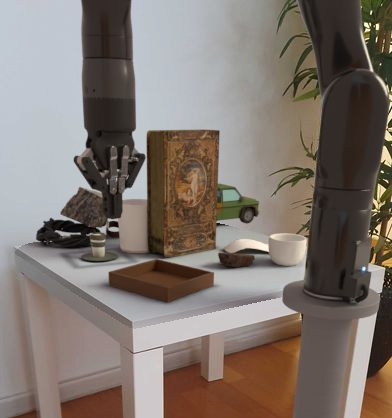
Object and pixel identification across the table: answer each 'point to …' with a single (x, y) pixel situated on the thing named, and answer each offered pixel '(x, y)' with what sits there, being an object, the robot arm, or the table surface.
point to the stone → (236, 259)
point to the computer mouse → (245, 245)
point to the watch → (111, 233)
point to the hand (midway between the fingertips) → (113, 217)
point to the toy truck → (235, 205)
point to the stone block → (86, 208)
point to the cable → (68, 226)
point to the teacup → (286, 248)
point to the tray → (161, 279)
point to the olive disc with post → (98, 249)
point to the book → (182, 190)
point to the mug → (134, 226)
